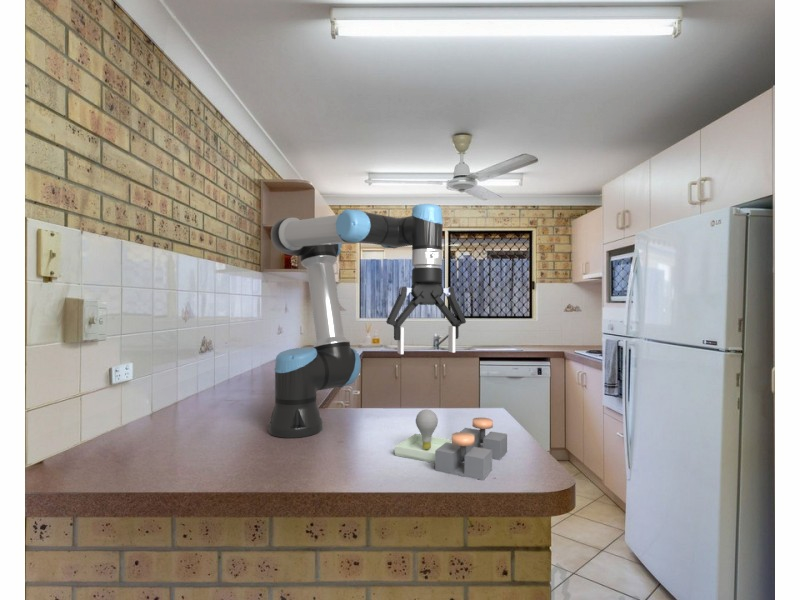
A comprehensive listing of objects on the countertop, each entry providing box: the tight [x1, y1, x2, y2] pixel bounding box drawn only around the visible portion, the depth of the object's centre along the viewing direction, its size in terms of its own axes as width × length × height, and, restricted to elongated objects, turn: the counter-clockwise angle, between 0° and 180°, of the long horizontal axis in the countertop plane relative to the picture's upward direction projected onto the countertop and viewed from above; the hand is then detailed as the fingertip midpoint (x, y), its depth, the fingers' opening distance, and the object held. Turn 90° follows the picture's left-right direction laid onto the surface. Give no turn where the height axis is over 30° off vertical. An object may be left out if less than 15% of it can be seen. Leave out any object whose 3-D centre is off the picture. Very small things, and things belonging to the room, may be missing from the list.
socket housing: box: [434, 427, 508, 481], centre depth 104 cm, size 11×20×4 cm, turn 152°
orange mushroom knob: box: [472, 417, 494, 444], centre depth 110 cm, size 5×5×6 cm
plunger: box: [451, 431, 475, 463], centre depth 98 cm, size 5×5×6 cm
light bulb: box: [415, 409, 439, 450], centre depth 109 cm, size 6×5×10 cm
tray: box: [394, 433, 452, 464], centre depth 110 cm, size 12×12×2 cm
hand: (426, 353), depth 110 cm, fingers open, 13 cm apart
